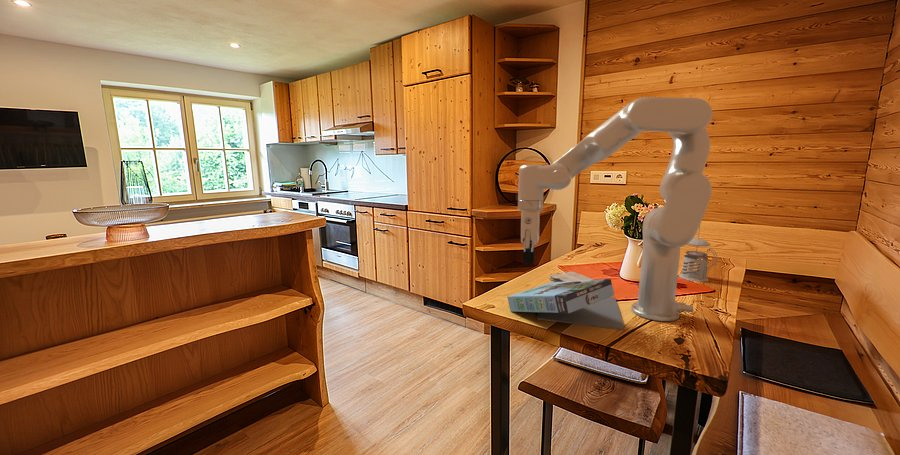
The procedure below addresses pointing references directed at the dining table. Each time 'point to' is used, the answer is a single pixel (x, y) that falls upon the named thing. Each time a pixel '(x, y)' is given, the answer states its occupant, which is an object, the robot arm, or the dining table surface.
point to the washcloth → (568, 277)
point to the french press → (692, 257)
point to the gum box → (561, 296)
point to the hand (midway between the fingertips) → (528, 263)
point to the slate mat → (590, 315)
